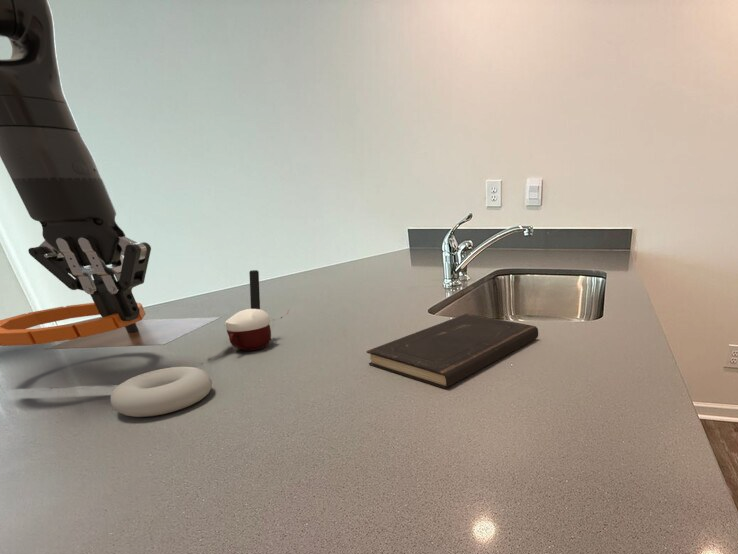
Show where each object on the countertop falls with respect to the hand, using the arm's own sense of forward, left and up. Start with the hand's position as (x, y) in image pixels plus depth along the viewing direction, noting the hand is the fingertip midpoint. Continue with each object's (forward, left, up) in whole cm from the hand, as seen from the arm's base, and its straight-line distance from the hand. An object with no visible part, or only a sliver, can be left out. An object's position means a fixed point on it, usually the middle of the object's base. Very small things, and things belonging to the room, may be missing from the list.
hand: (123, 319), depth 55 cm
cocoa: (+9, +12, -9) cm, 18 cm away
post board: (-14, +18, -9) cm, 25 cm away
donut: (+8, -8, -9) cm, 15 cm away
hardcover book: (+44, +6, -9) cm, 46 cm away
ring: (-7, 0, -1) cm, 7 cm away
